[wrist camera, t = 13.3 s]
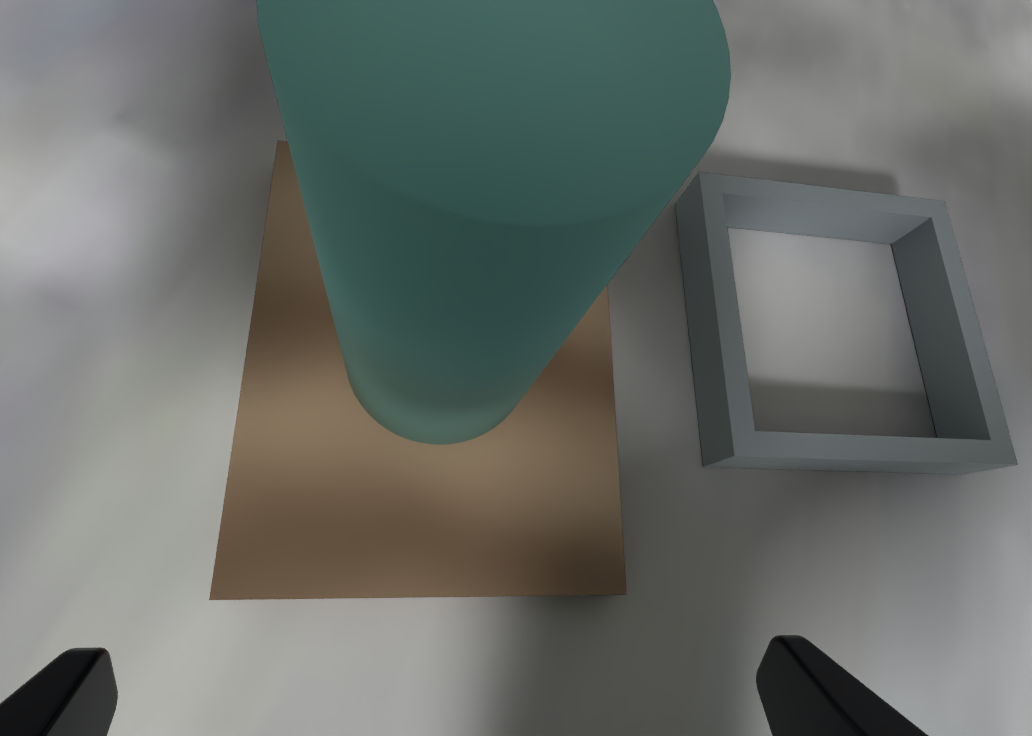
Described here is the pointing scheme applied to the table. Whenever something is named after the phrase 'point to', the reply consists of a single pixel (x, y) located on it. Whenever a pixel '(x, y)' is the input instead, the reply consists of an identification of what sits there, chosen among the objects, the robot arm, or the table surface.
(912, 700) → the table surface
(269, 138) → the table surface
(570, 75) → the canister
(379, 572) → the pad
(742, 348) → the tray
